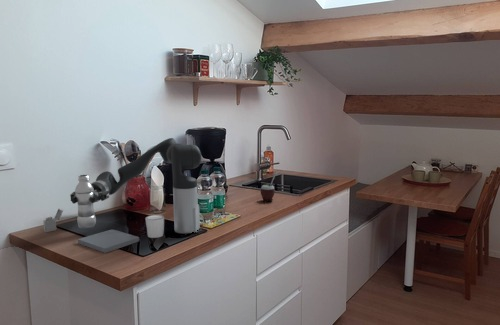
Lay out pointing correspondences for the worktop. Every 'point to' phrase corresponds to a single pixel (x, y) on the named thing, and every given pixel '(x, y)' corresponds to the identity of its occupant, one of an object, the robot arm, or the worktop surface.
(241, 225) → the worktop surface
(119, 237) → the board
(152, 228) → the white cup
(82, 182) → the plastic bottle
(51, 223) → the lighter
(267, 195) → the mate gourd
